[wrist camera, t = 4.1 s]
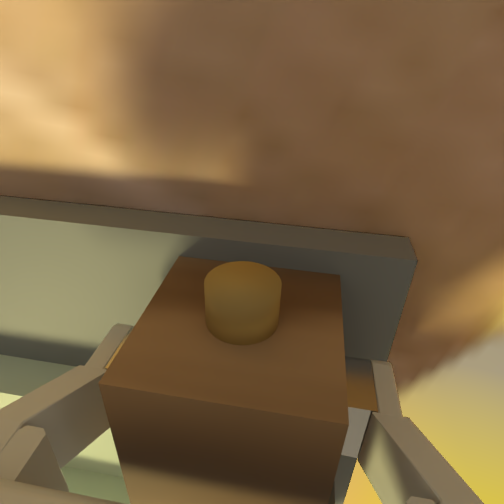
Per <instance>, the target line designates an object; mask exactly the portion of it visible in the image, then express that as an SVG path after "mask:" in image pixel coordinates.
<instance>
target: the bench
mask: <svg viewBox="0 0 504 504" xmlns="http://www.w3.org/2000/svg"><path fill="white" fill-rule="evenodd" d="M179 256H183V257H191V258H200V259H208V260H217V261H225V262H235V261H249V262H255V263H259V264H262V265H265V266H268V267H277V268H285V269H294V270H302V271H311V272H319V273H328V274H336V275H340V282H341V299H342V316H343V333H344V349H345V356H348V357H356V358H363V359H369V360H370V359H371V360H378V361H386V362H387V359H388V356H389V353H390V349H391V346H392V343H393V340H394V336H395V333H396V330H397V327H398V323H399V320H400V317H401V314H402V310H403V307H404V304H405V301H406V297H407V294H408V291H409V288H410V284H411V281H412V278H413V275H414V271H415V268H416V265H417V262H418V260H417V257H416V255H415V252H414V250H413V247H412V245H411V242H410V239H409V237H399V236H389V235H380V234H370V233H360V232H350V231H341V230H331V229H321V228H311V227H302V226H292V225H282V224H272V223H263V222H253V221H243V220H233V219H224V218H214V217H204V216H194V215H185V214H175V213H165V212H155V211H146V210H136V209H126V208H116V207H107V206H97V205H87V204H77V203H68V202H58V201H48V200H38V199H29V198H19V197H9V196H0V409H1V408H3V407H5V406H7V405H8V404H10V403H12V402H14V401H16V400H17V399H19V398H21V397H23V396H25V395H27V394H28V393H30V392H32V391H34V390H36V389H37V388H39V387H41V386H43V385H45V384H46V383H48V382H50V381H52V380H54V379H55V378H57V377H59V376H61V375H63V374H64V373H66V372H68V371H70V370H72V369H73V368H75V367H77V366H79V365H82V366H85V365H86V363H87V362H88V360H89V359H90V358H91V356H92V355H93V353H94V352H95V351H96V349H97V348H98V346H99V345H100V343H101V342H102V341H103V339H104V338H105V336H106V335H107V334H108V332H109V331H110V329H111V328H112V327H113V326H114V325H116V324H117V323H120V324H126V325H132V326H135V325H136V323H137V321H138V320H139V318H140V317H141V315H142V314H143V312H144V310H145V309H146V307H147V306H148V304H149V303H150V301H151V299H152V298H153V296H154V295H155V293H156V291H157V290H158V288H159V287H160V285H161V284H162V282H163V280H164V279H165V277H166V276H167V274H168V273H169V271H170V269H171V268H172V266H173V265H174V263H175V261H176V260H177V258H178V257H179ZM356 460H357V458H354V457H349V456H345V455H341V457H340V460H339V464H338V468H337V472H336V476H335V479H334V483H333V487H332V491H331V494H330V498H329V502H328V504H343V502H344V499H345V496H346V492H347V489H348V486H349V483H350V480H351V476H352V473H353V470H354V467H355V463H356ZM61 471H62V473H63V475H64V478H65V480H66V482H67V485H68V489H69V492H71V493H76V494H81V495H86V496H91V497H95V498H100V499H105V500H110V501H115V502H120V503H125V504H130V500H129V496H128V493H127V489H126V485H125V482H124V478H123V474H122V470H121V467H120V463H119V459H118V455H117V452H116V448H115V444H114V440H113V437H112V433H111V429H110V428H109V429H108V430H106V431H105V432H104V433H103V434H102V435H100V436H99V437H98V438H97V439H96V440H95V441H93V442H92V443H91V444H90V445H89V446H87V447H86V448H85V449H84V450H83V451H81V452H80V453H79V454H78V455H77V456H76V457H74V458H73V459H72V460H71V461H70V462H68V463H67V464H66V465H65V466H64V467H62V468H61Z"/></svg>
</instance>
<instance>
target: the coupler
mask: <svg viewBox="0 0 504 504" xmlns="http://www.w3.org/2000/svg"><path fill="white" fill-rule="evenodd" d="M98 384H99V388H100V392H101V395H102V399H103V403H104V407H105V410H106V414H107V418H108V422H109V425H110V429H111V433H112V437H113V440H114V444H115V448H116V452H117V455H118V459H119V463H120V467H121V470H122V474H123V478H124V482H125V485H126V489H127V493H128V496H129V500H130V504H328V502H329V498H330V494H331V491H332V487H333V483H334V479H335V476H336V472H337V468H338V464H339V460H340V457H341V453H342V449H343V445H344V442H345V438H346V434H347V430H348V427H349V416H348V400H347V383H346V366H345V349H344V333H343V316H342V299H341V282H340V275H336V274H328V273H319V272H311V271H302V270H294V269H285V268H277V267H268V266H265V265H262V264H259V263H255V262H249V261H235V262H225V261H217V260H208V259H200V258H191V257H183V256H179V257H178V258H177V260H176V261H175V263H174V265H173V266H172V268H171V269H170V271H169V273H168V274H167V276H166V277H165V279H164V280H163V282H162V284H161V285H160V287H159V288H158V290H157V291H156V293H155V295H154V296H153V298H152V299H151V301H150V303H149V304H148V306H147V307H146V309H145V310H144V312H143V314H142V315H141V317H140V318H139V320H138V321H137V323H136V325H135V326H134V328H133V329H132V331H131V333H130V334H129V336H128V337H127V339H126V340H125V342H124V344H123V345H122V347H121V348H120V350H119V351H118V353H117V355H116V356H115V358H114V359H113V361H112V363H111V364H110V366H109V367H108V369H107V370H106V372H105V374H104V375H103V377H102V378H101V380H100V381H99V383H98Z"/></svg>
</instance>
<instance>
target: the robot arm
mask: <svg viewBox="0 0 504 504" xmlns="http://www.w3.org/2000/svg"><path fill="white" fill-rule="evenodd" d="M133 328H134V326H132V325H126V324H120V323H117V324H116V325H114V326H113V327H112V328H111V329H110V331H109V332H108V334H107V335H106V336H105V338H104V339H103V341H102V342H101V343H100V345H99V346H98V348H97V349H96V351H95V352H94V353H93V355H92V356H91V358H90V359H89V360H88V362H87V363H86V365H85V366H82V365H79V366H77V367H75V368H73V369H72V370H70V371H68V372H66V373H64V374H63V375H61V376H59V377H57V378H55V379H54V380H52V381H50V382H48V383H46V384H45V385H43V386H41V387H39V388H37V389H36V390H34V391H32V392H30V393H28V394H27V395H25V396H23V397H21V398H19V399H17V400H16V401H14V402H12V403H10V404H8V405H7V406H5V407H3V408H1V409H0V504H125V503H120V502H115V501H110V500H105V499H100V498H95V497H91V496H86V495H81V494H76V493H71V492H69V489H68V485H67V482H66V480H65V478H64V475H63V473H62V471H61V468H62V467H64V466H65V465H66V464H67V463H68V462H70V461H71V460H72V459H73V458H74V457H76V456H77V455H78V454H79V453H80V452H81V451H83V450H84V449H85V448H86V447H87V446H89V445H90V444H91V443H92V442H93V441H95V440H96V439H97V438H98V437H99V436H100V435H102V434H103V433H104V432H105V431H106V430H108V429H109V428H110V425H109V422H108V418H107V414H106V410H105V407H104V403H103V399H102V395H101V392H100V388H99V384H98V383H99V381H100V380H101V378H102V377H103V375H104V374H105V372H106V370H107V369H108V367H109V366H110V364H111V363H112V361H113V359H114V358H115V356H116V355H117V353H118V351H119V350H120V348H121V347H122V345H123V344H124V342H125V340H126V339H127V337H128V336H129V334H130V333H131V331H132V329H133ZM345 366H346V383H347V400H348V416H349V427H348V430H347V434H346V438H345V442H344V445H343V449H342V453H341V455H345V456H349V457H354V458H358V462H359V463H360V465H361V467H362V468H363V470H364V472H365V474H366V476H367V477H368V479H369V481H370V483H371V484H372V486H373V488H374V490H375V491H376V493H377V495H378V496H379V498H380V500H381V502H382V503H383V504H484V503H483V502H482V501H481V500H480V499H479V497H478V496H477V495H476V494H475V493H474V492H473V491H472V489H471V488H470V487H469V486H468V485H467V484H466V483H465V482H464V480H463V479H462V478H461V477H460V476H459V474H458V473H457V472H456V471H455V470H454V469H453V468H452V466H451V465H450V464H449V463H448V462H447V461H446V460H445V459H444V457H443V456H442V455H441V454H440V453H439V452H438V451H437V450H436V448H435V447H434V446H433V445H432V444H431V442H430V441H429V440H428V439H427V438H426V437H425V436H424V435H423V433H422V432H421V431H420V430H419V429H418V428H417V427H416V425H415V424H414V423H413V422H412V421H411V420H410V418H408V417H403V416H402V411H401V406H400V401H399V397H398V392H397V387H396V382H395V377H394V372H393V367H392V364H391V363H390V362H386V361H378V360H371V359H370V360H369V359H363V358H356V357H348V356H345Z"/></svg>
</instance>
